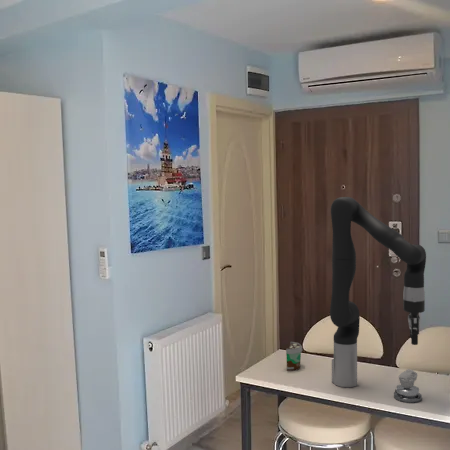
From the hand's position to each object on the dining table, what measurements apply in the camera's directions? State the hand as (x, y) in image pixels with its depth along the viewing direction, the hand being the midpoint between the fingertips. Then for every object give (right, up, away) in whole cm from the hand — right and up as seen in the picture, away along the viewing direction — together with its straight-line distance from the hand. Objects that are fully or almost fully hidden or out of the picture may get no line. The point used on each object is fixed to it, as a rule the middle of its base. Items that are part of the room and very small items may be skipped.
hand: (413, 341), depth 202 cm
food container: (-39, -20, +37) cm, 57 cm away
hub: (-2, -21, 0) cm, 21 cm away
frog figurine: (-2, -18, 0) cm, 18 cm away
